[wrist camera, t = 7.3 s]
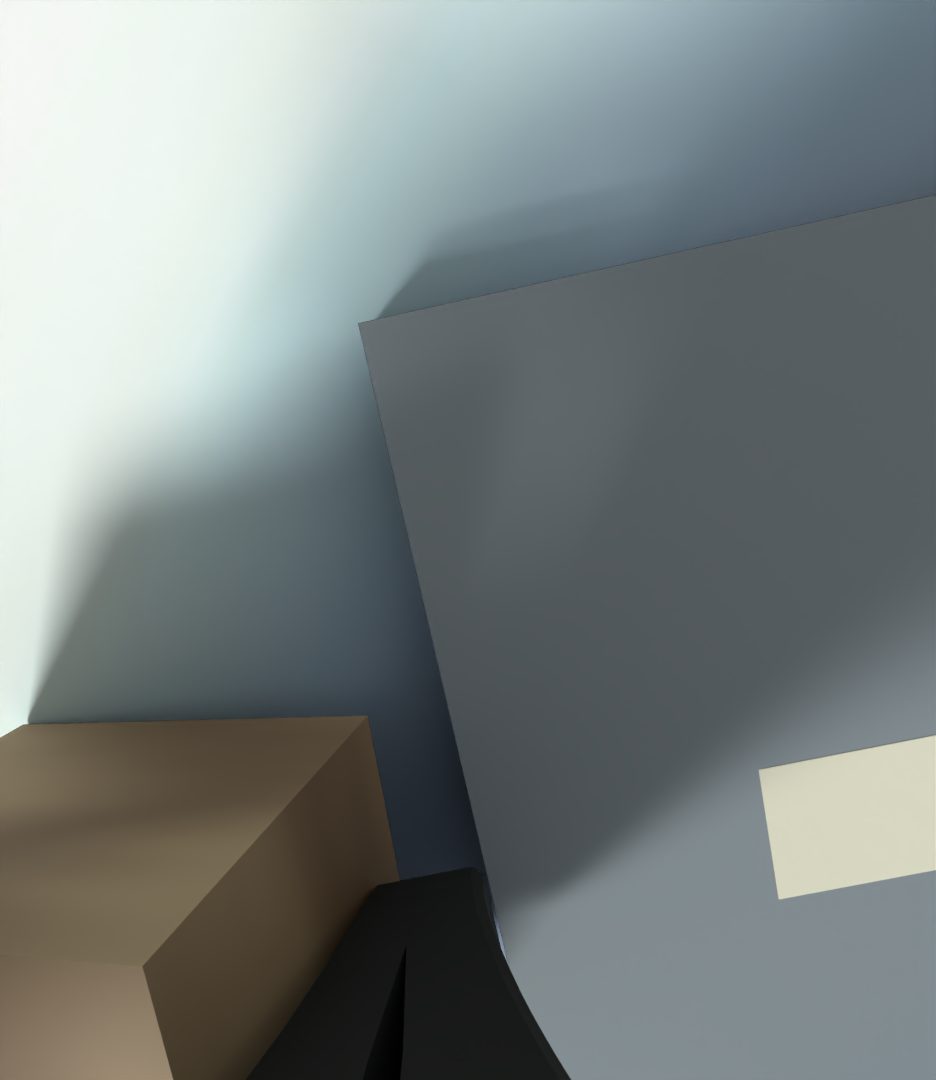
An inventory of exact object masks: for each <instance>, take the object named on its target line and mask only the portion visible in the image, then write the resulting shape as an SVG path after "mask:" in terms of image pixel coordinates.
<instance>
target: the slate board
mask: <svg viewBox="0 0 936 1080" xmlns="http://www.w3.org/2000/svg"><path fill="white" fill-rule="evenodd" d="M358 325H359V329H360V333H361V338H362V342H363V346H364V351H365V355H366V359H367V363H368V368H369V372H370V376H371V380H372V385H373V389H374V393H375V398H376V402H377V406H378V410H379V415H380V419H381V423H382V428H383V432H384V436H385V440H386V445H387V449H388V453H389V457H390V462H391V466H392V470H393V475H394V479H395V483H396V487H397V492H398V496H399V500H400V504H401V509H402V513H403V517H404V522H405V526H406V530H407V534H408V539H409V543H410V547H411V551H412V556H413V560H414V564H415V569H416V573H417V577H418V581H419V586H420V590H421V594H422V598H423V603H424V607H425V611H426V616H427V620H428V624H429V628H430V633H431V637H432V641H433V645H434V650H435V654H436V658H437V663H438V667H439V671H440V675H441V680H442V684H443V688H444V692H445V697H446V701H447V705H448V710H449V714H450V718H451V722H452V727H453V731H454V735H455V739H456V744H457V748H458V752H459V757H460V761H461V765H462V769H463V774H464V778H465V782H466V786H467V791H468V795H469V799H470V804H471V808H472V812H473V816H474V821H475V825H476V829H477V833H478V838H479V842H480V846H481V851H482V855H483V859H484V863H485V868H486V872H487V876H488V880H489V885H490V889H491V893H492V898H493V902H494V906H495V910H496V915H497V919H498V923H499V928H500V932H501V936H502V940H503V945H504V949H505V953H506V957H507V962H508V966H509V968H510V970H511V972H512V974H513V976H514V979H515V981H516V983H517V985H518V987H519V989H520V991H521V993H522V995H523V997H524V999H525V1001H526V1003H527V1005H528V1007H529V1009H530V1011H531V1013H532V1014H533V1016H534V1018H535V1020H536V1022H537V1023H538V1025H539V1027H540V1029H541V1030H542V1032H543V1034H544V1036H545V1037H546V1039H547V1041H548V1042H549V1044H550V1046H551V1048H552V1049H553V1051H554V1053H555V1054H556V1056H557V1058H558V1059H559V1061H560V1063H561V1064H562V1066H563V1067H564V1069H565V1071H566V1072H567V1074H568V1075H569V1077H570V1078H571V1080H936V195H933V196H928V197H924V198H919V199H915V200H910V201H906V202H901V203H897V204H892V205H888V206H883V207H879V208H874V209H870V210H865V211H861V212H856V213H852V214H847V215H843V216H838V217H834V218H829V219H825V220H820V221H816V222H811V223H807V224H802V225H798V226H793V227H789V228H784V229H780V230H775V231H771V232H766V233H762V234H757V235H753V236H748V237H744V238H739V239H735V240H730V241H726V242H722V243H717V244H713V245H708V246H704V247H699V248H695V249H690V250H686V251H681V252H677V253H672V254H668V255H663V256H659V257H654V258H650V259H645V260H641V261H636V262H632V263H627V264H623V265H618V266H614V267H609V268H605V269H600V270H596V271H591V272H587V273H582V274H578V275H573V276H569V277H564V278H560V279H555V280H551V281H546V282H542V283H537V284H533V285H528V286H524V287H519V288H515V289H510V290H506V291H501V292H497V293H492V294H488V295H483V296H479V297H474V298H470V299H465V300H461V301H456V302H452V303H447V304H443V305H438V306H434V307H429V308H425V309H420V310H416V311H411V312H407V313H402V314H398V315H393V316H389V317H385V318H380V319H376V320H371V321H367V322H362V323H358Z"/></svg>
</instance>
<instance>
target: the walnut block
mask: <svg viewBox="0 0 936 1080" xmlns="http://www.w3.org/2000/svg"><path fill="white" fill-rule="evenodd" d="M397 881H400V879H399V874H398V868H397V863H396V858H395V853H394V848H393V843H392V838H391V833H390V827H389V822H388V817H387V812H386V807H385V802H384V797H383V791H382V786H381V781H380V776H379V771H378V766H377V761H376V756H375V750H374V745H373V740H372V735H371V730H370V725H369V720H368V716H333V717H294V718H256V719H217V720H179V721H140V722H102V723H63V724H25V725H22V726H20V727H18V728H17V729H15V730H13V731H11V732H10V733H8V734H6V735H4V736H3V737H1V738H0V1080H246V1078H247V1077H248V1076H249V1074H250V1073H251V1072H252V1070H253V1069H254V1068H255V1066H256V1065H257V1064H258V1062H259V1061H260V1060H261V1058H262V1057H263V1056H264V1054H265V1053H266V1052H267V1050H268V1049H269V1048H270V1046H271V1045H272V1043H273V1042H274V1041H275V1039H276V1038H277V1037H278V1035H279V1034H280V1032H281V1031H282V1029H283V1028H284V1027H285V1025H286V1024H287V1022H288V1021H289V1019H290V1018H291V1016H292V1015H293V1013H294V1012H295V1010H296V1009H297V1007H298V1006H299V1004H300V1003H301V1001H302V1000H303V998H304V997H305V995H306V994H307V992H308V991H309V989H310V988H311V987H312V985H313V984H314V982H315V981H316V979H317V978H318V976H319V975H320V973H321V972H322V970H323V968H324V967H325V965H326V964H327V962H328V961H329V959H330V957H331V956H332V954H333V953H334V951H335V950H336V948H337V946H338V945H339V943H340V942H341V940H342V939H343V937H344V935H345V934H346V932H347V931H348V929H349V927H350V926H351V924H352V923H353V921H354V919H355V918H356V916H357V915H358V913H359V911H360V910H361V908H362V907H363V905H364V904H365V902H366V901H367V899H368V898H369V896H370V895H371V893H372V892H373V890H374V889H375V887H376V886H377V885H381V884H386V883H391V882H397Z"/></svg>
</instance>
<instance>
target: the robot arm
mask: <svg viewBox="0 0 936 1080" xmlns="http://www.w3.org/2000/svg"><path fill="white" fill-rule="evenodd" d="M246 1080H571V1078H570V1077H569V1075H568V1074H567V1072H566V1071H565V1069H564V1067H563V1066H562V1064H561V1063H560V1061H559V1059H558V1058H557V1056H556V1054H555V1053H554V1051H553V1049H552V1048H551V1046H550V1044H549V1042H548V1041H547V1039H546V1037H545V1036H544V1034H543V1032H542V1030H541V1029H540V1027H539V1025H538V1023H537V1022H536V1020H535V1018H534V1016H533V1014H532V1013H531V1011H530V1009H529V1007H528V1005H527V1003H526V1001H525V999H524V997H523V995H522V993H521V991H520V989H519V987H518V985H517V983H516V981H515V979H514V976H513V974H512V972H511V970H510V968H509V966H508V964H507V962H506V959H505V957H504V955H503V953H502V950H501V947H500V942H499V938H498V934H497V930H496V925H495V921H494V917H493V913H492V908H491V904H490V900H489V895H488V891H487V887H486V883H485V878H484V875H483V874H482V873H480V872H479V871H477V870H476V869H474V868H473V867H469V868H464V869H459V870H454V871H449V872H443V873H438V874H433V875H428V876H423V877H417V878H412V879H407V880H402V881H397V882H391V883H386V884H381V885H377V886H376V887H375V889H374V890H373V892H372V893H371V895H370V896H369V898H368V899H367V901H366V902H365V904H364V905H363V907H362V908H361V910H360V911H359V913H358V915H357V916H356V918H355V919H354V921H353V923H352V924H351V926H350V927H349V929H348V931H347V932H346V934H345V935H344V937H343V939H342V940H341V942H340V943H339V945H338V946H337V948H336V950H335V951H334V953H333V954H332V956H331V957H330V959H329V961H328V962H327V964H326V965H325V967H324V968H323V970H322V972H321V973H320V975H319V976H318V978H317V979H316V981H315V982H314V984H313V985H312V987H311V988H310V989H309V991H308V992H307V994H306V995H305V997H304V998H303V1000H302V1001H301V1003H300V1004H299V1006H298V1007H297V1009H296V1010H295V1012H294V1013H293V1015H292V1016H291V1018H290V1019H289V1021H288V1022H287V1024H286V1025H285V1027H284V1028H283V1029H282V1031H281V1032H280V1034H279V1035H278V1037H277V1038H276V1039H275V1041H274V1042H273V1043H272V1045H271V1046H270V1048H269V1049H268V1050H267V1052H266V1053H265V1054H264V1056H263V1057H262V1058H261V1060H260V1061H259V1062H258V1064H257V1065H256V1066H255V1068H254V1069H253V1070H252V1072H251V1073H250V1074H249V1076H248V1077H247V1078H246Z"/></svg>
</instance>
